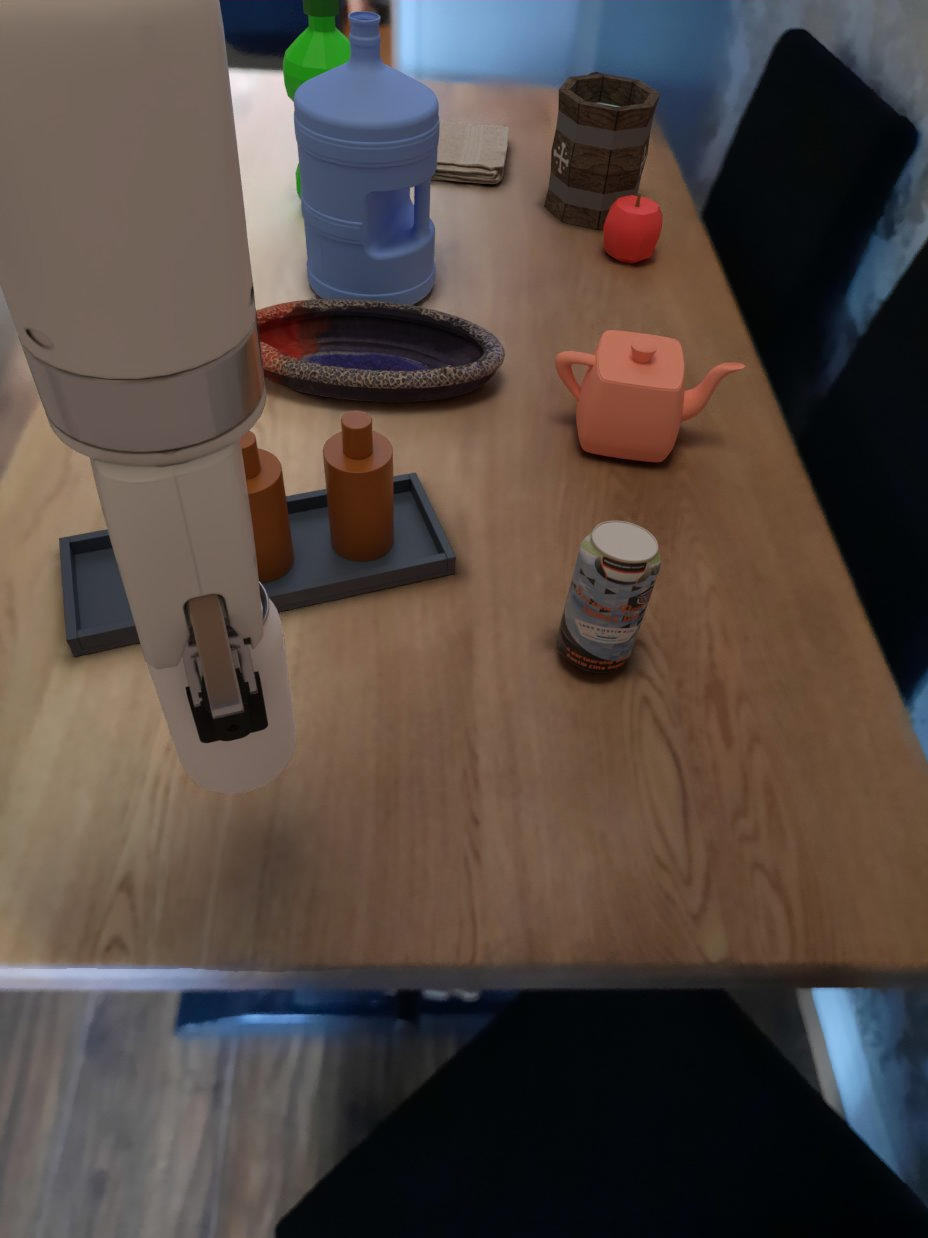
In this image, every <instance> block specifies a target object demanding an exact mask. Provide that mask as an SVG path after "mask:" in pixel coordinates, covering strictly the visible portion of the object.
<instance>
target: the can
mask: <svg viewBox="0 0 928 1238" xmlns="http://www.w3.org/2000/svg"><path fill="white" fill-rule="evenodd" d="M259 587H260V597H261V608H262V619H263V637H262V639H261V641H260V642H259V644H258V645H257V646H256V647H255V648H254V649H252V647H251V645H249V650H250V655H251V660H252V665H253V670H254V672H256V671H259V675H260V680H261V685H262V691H263V697H264V703H265V708H266V714H267V720H268V727H267V728H266V729H264V730H261V731H257V732H253V733H250V734H249V735H248V736H246V737H244V738H241V739H237V740H232V741H221V740H220V741H215V742H211V743H202V742H201V741H200V739H199V736H198V732H197V729H196V725H195V722H194V718H193V715H192V711H191V708H190V705H189V701H188V698H187V693H186V688H185V687H188V686H189V683H188V679H187V675H186V671H185V667H184V663H183V659H182V658H181V660H180V662H179V664H178V666H176V667H170V668H163V669H158V670H157V669H155V668H153V667H152V666H150V665H149V664H148V663H147V662H146V665H147V667H148V671H149V674H150V677H151V680H152V683H153V686H154V689H155V692H156V694H157V697H158V701H159V703H160V707H161V710H162V712H163V716H164V718H165V721H166V725H167V727H168V730H169V734H170V736H171V740H172V742H173V745H174V748H175V750H176V754H177V757H178V760H179V762H180V764H181V766H182V769H183V770H184V772H185V773H186V775H187V776H188V777H189V778H190V779H191V781H192V782H194V783H195V784H196V785H198V786H200V787H201V788H203V789H204V790H208V791H209V792H210V791H211V792H214V793H219V794H229V795H233V794H234V795H235V794H243V793H247V792H252V791H255V790H258V789H259V788H262V787H264V786H266V785H268V784H269V783H270V782H272V781H274V780H275V779H277V777H279V775H281V774H282V773H283V772H284V771H285V769H286V768H287V766H289V763H290V762H291V760H292V759H293V755H294V753H295V750H296V745H297V734H296V733H297V731H296V723H295V715H294V706H293V699H292V690H291V683H290V676H289V668H288V661H287V654H286V648H285V639H284V633H283V627H282V621H281V617H280V614H279V612H278V611H277V609H276V607H275V605H274V604H273V602H272V601H271V600H270V599H269V597H268V594H267V592H266V590H265V588H264V586H263V585H262V584H261V582H260V581H259ZM224 620H225V625H226V626H227V625H230V621H229V620H227V618H224ZM189 632H190V633H193V632H194V631H193V626H192V625H191V628H189ZM231 652H232V657H233V661H234V666H235V668H239V669H240V664H239V659H238V655H237V650H236V648H231ZM196 658H197V662H198V667H199V671H200V675H201V679H202V676H203V672H202V667H201V663H200V658H199V655H198V656H196ZM240 672H241V669H240Z"/></svg>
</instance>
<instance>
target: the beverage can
mask: <svg viewBox="0 0 928 1238" xmlns="http://www.w3.org/2000/svg"><path fill="white" fill-rule="evenodd" d="M578 549H579V550H578V553H577V557H576V561H575V565H574V569H573V573H572V577H571V581H570V584H569V589H568V592H567V596H566V600H565V604H564V607H563V608H564V609H563V611H562V616H561V619H560V622H559V627H558V631H557V634H556V646H557V649H558V651H559V653H560V654H561V656H562V657H563V658H564V659H565V660H566V661H567V662H568V663H570V664H571V665H573V666H575V667H576V668H577V669H580V670H583V671H586V672H590V673H597V674H606V673H607V674H608V673H611V672H612V673H613V672H616V671H617V670H620V669H622V668H623V667H624V666H625V665H626V664H627V663H628V662H629V659H630V657H631V655H632V651H633V648H634V645H635V643H636V640H637V637H638V635H639V631H640V628H641V625H642V622H643V620H644V617H645V614H646V610H647V608H648V605H649V603H650V599H651V596H652V593H653V590H654V587H655V584H656V582H657V578H658V577H659V573H660V569H661V566H662V562H661V555H660V553H659V543H658V540H657V538H656V537H655V536H654V535H653V534H652V533H651V532H650V531H649V530H647V529H646V528H644V527H643V526H640V525H638V524H635V523H632V522H629V521H625V520H606V521H603V522H600V523H599V524H597V525H596V526H595V527H594V528H593V529H592V531H591V532H590V533H589V534H588V535H586V536H585V537H584V538H583V540H582V541H581V544H580V546H579V548H578Z"/></svg>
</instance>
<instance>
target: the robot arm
mask: <svg viewBox="0 0 928 1238" xmlns="http://www.w3.org/2000/svg"><path fill="white" fill-rule="evenodd" d="M227 53H228V52H227V45H226V37H225V27H224V21H223V15H222V9H221V2H220V0H0V289H1V291H2V295H3V297H4V300H5V302H6V305H7V308H8V311H9V314H10V316H11V319H12V322H13V325H14V327H15V330H16V333H17V336H18V340H19V342H20V346H21V348H22V351H23V353H24V357H25V360H26V363H27V365H28V368H29V370H30V374H31V377H32V379H33V382H34V385H35V387H36V390H37V394H38V397H39V399H40V402H41V405H42V407H43V409H44V413H45V416H46V419H47V421H48V424H49V427H50V428H51V430H52V432H53V433H54V435H55V436H56V437H57V438H58V439H59V440H60V441H61V442H62V443H63V444H64V445H65V446H67V447H69V448H70V449H72V450H74V451H75V452H76V453H79V454H81V455H83V456H86V457H87V458H89V461H90V467H91V470H92V473H93V479H94V483H95V488H96V491H97V497H98V499H99V503H100V507H101V511H102V515H103V519H104V522H105V526H106V529H107V530H108V533H109V537H110V540H111V544H112V547H113V551H114V554H115V557H116V561H117V564H118V568H119V571H120V575H121V578H122V581H123V585H124V588H125V592H126V595H127V598H128V602H129V605H130V609H131V612H132V615H133V619H134V622H135V626H136V629H137V633H138V637H139V640H140V642H139V643H140V648H141V651H142V655H143V659H144V662H145V663H146V664H147V663H148V664H149V665H150V666H152V667H153V668H155V669H157V670H158V669H163V668H170V667H176V666H178V664H179V662H180V660H181V658H182V659H183V663H184V667H185V671H186V675H187V679H188V683H189V686H188V687H185V688H186V693H187V698H188V701H189V705H190V708H191V711H192V715H193V718H194V722H195V725H196V729H197V732H198V736H199V739H200V741H201V742H202V743H211V742H215V741H220V740H221V741H232V740H237V739H241V738H244V737H246V736H248V735H249V734H250V733H253V732H257V731H261V730H264V729H266V728H267V727H268V720H267V714H266V708H265V703H264V697H263V691H262V685H261V680H260V675H259V671H256V672H254V670H253V665H252V660H251V655H250V650H249V645H251V647H252V649H254V648H255V647H256V646H257V645H258V644H259V642H260V641H261V639H262V637H263V619H262V608H261V597H260V587H259V578H258V568H257V559H256V551H255V543H254V534H253V526H252V519H251V512H250V505H249V498H248V491H247V484H246V476H245V469H244V463H243V456H242V449H241V443H240V438H241V437H243V436H244V435H245V434H246V433H247V432H248V431H251V430H252V429H253V428H254V426H255V425H256V424H257V422H258V421H259V419H260V418H261V416H262V414H263V412H264V409H265V406H266V401H267V393H266V392H267V391H266V384H265V377H264V372H263V363H262V354H261V346H260V337H259V328H258V320H257V311H256V310H257V307H256V297H255V288H254V287H255V286H254V280H253V279H254V278H253V271H252V264H251V263H252V262H251V256H250V247H249V239H248V230H247V220H246V209H245V202H244V193H243V183H242V175H241V167H240V166H241V165H240V158H239V150H238V140H237V139H238V138H237V133H236V132H237V131H236V123H235V115H234V114H235V113H234V104H233V98H232V97H233V96H232V89H231V80H230V72H229V71H230V70H229V61H228V54H227ZM224 618H227V620H229V621H230V625H227V626H226V625H225V620H224ZM191 625H192V626H193V631H194V632H193V633H190V632H189V628H191ZM231 648H236V650H237V655H238V659H239V664H240V669H241V672H240V669H239V668H235V666H234V661H233V657H232V652H231ZM198 655H199V658H200V663H201V667H202V672H203V676H202V679H201V675H200V671H199V667H198V662H197V658H196V656H198Z"/></svg>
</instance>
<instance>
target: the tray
mask: <svg viewBox="0 0 928 1238" xmlns="http://www.w3.org/2000/svg"><path fill="white" fill-rule="evenodd" d="M393 499H394V542H393V545H392V547H391V549H390V550H389V551H388V552H387V553H386V554H385V555H384V556H382V557H380V558H378V559H375V560H372V561H365V562H358V561H352V560H348V559H346V558H344V557H342V556H340V555H339V554H338V553H337V552H336V551H335V550H334V549H333V547H332V545H331V538H330V527H329V516H328V505H327V493H326V488H323V489H317V490H313V491H306V492H301V493H296V494H291V495H286V501H287V509H288V516H289V523H290V530H291V538H292V545H293V552H294V562H293V564H292V566H291V568H290V569H289V571H288V572H287V573H286V574H284V575H283V576H282V577H280V578H278V579H276V580H273V581H270V582H265V583H261V584H262V585H263V586H264V588H265V590H266V592H267V594H268V597H269V599H270V600H271V601H272V602H273V604H274V605H275V607H276V609H277V611H278V613H281V612H285V611H289V610H295V609H299V608H303V607H307V606H313V605H318V604H321V603H327V602H330V601H331V602H332V601H335V600H339V599H344V598H348V597H353V596H357V595H362V594H368V593H373V592H377V591H381V590H386V589H390V588H395V587H399V586H403V585H410V584H413V583H417V582H422V581H426V580H431V579H435V578H440V577H446V576H450V575H454V574H456V566H457V565H456V563H457V555H456V553H455V552H454V549H453V547H452V545H451V543H450V541H449V539H448V537H447V535H446V532H445V530H444V528H443V526H442V524H441V522H440V520H439V518H438V515H437V514H436V512H435V509H434V507H433V505H432V503H431V501H430V499H429V496H428V494H427V491H426V490H425V488H424V486H423V484H422V482H421V480H420V478H419V476H418V474H417V472H410V473H404V474H399V475H393ZM58 545H59V558H60V573H61V574H60V575H61V585H62V586H61V587H62V599H63V613H64V626H65V627H64V629H65V640H66V643H67V644H68V647H69V649H70V651H71V653H72V655H73V657H79V656H84V655H90V654H94V653H98V652H102V651H106V650H112V649H117V648H121V647H125V646H129V645H133V644H134V645H135V644H139V643H140V640H139V637H138V633H137V629H136V626H135V622H134V619H133V615H132V612H131V609H130V605H129V602H128V598H127V595H126V592H125V588H124V585H123V581H122V578H121V575H120V571H119V568H118V564H117V561H116V557H115V554H114V551H113V547H112V544H111V540H110V537H109V533H108V530H107V528H106V529H101V530H96V531H90V532H84V533H79V534H73V535H68V536H64V537H58Z"/></svg>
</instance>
